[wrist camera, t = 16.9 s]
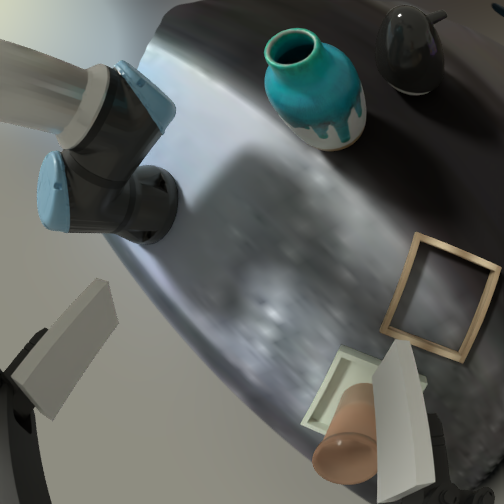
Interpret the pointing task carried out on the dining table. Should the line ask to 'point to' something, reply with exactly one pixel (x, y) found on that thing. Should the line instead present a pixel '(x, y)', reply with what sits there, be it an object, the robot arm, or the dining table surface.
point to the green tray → (341, 385)
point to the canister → (350, 439)
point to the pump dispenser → (410, 50)
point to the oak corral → (478, 316)
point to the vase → (314, 90)
